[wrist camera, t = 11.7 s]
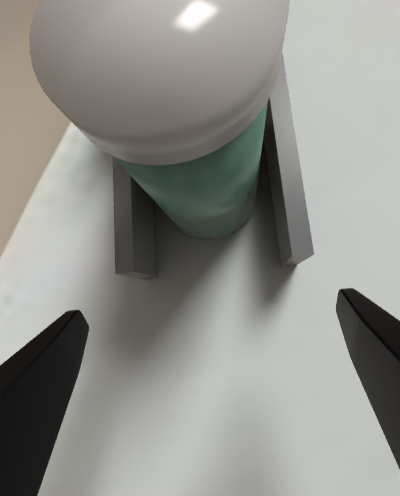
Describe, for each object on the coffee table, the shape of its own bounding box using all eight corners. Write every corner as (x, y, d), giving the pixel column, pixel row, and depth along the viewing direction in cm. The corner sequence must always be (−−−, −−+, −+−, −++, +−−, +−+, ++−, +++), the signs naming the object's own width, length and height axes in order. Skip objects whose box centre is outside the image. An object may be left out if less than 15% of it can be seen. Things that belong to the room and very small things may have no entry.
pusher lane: (297, 264, 17) (333, 242, 10) (142, 278, 19) (83, 267, 12) (267, 56, 20) (280, -68, 13) (134, 82, 21) (83, -19, 14)
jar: (243, 254, 18) (244, 161, 6) (151, 228, 19) (-9, 106, 7) (269, 163, 19) (320, -91, 6) (180, 144, 20) (81, -99, 8)
